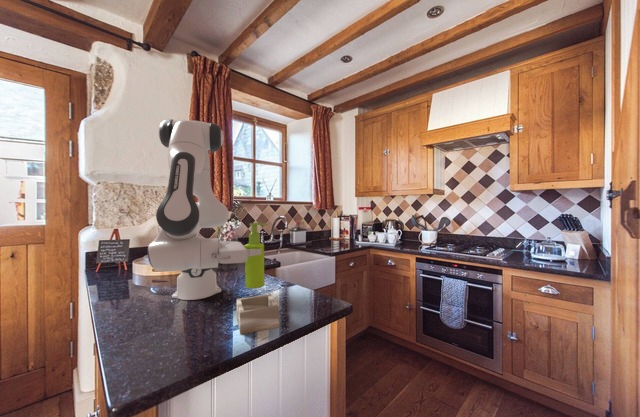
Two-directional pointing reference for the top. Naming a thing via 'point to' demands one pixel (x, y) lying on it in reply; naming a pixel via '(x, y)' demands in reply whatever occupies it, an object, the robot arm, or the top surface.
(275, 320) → the box
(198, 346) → the top surface
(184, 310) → the top surface
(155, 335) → the top surface
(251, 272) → the soap dispenser
